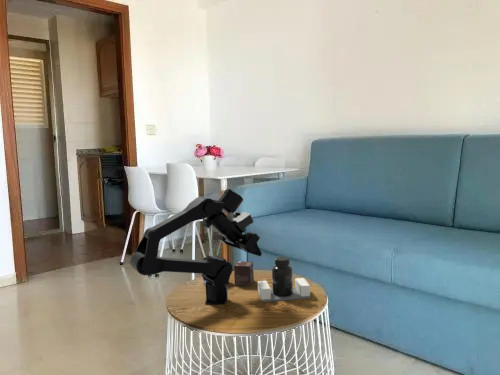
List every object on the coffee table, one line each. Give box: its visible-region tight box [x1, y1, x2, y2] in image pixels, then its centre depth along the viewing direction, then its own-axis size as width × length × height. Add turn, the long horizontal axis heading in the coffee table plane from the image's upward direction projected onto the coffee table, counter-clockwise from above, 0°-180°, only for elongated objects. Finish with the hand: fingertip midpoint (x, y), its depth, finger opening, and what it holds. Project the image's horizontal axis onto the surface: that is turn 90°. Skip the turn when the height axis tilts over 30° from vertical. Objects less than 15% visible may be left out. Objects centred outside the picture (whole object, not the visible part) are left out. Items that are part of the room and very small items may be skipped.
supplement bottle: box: [271, 256, 294, 297], centre depth 140 cm, size 7×7×12 cm
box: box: [233, 260, 255, 287], centre depth 154 cm, size 6×6×7 cm
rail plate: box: [257, 277, 311, 303], centre depth 140 cm, size 16×9×4 cm, turn 97°
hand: (253, 252), depth 144 cm, fingers open, 9 cm apart
